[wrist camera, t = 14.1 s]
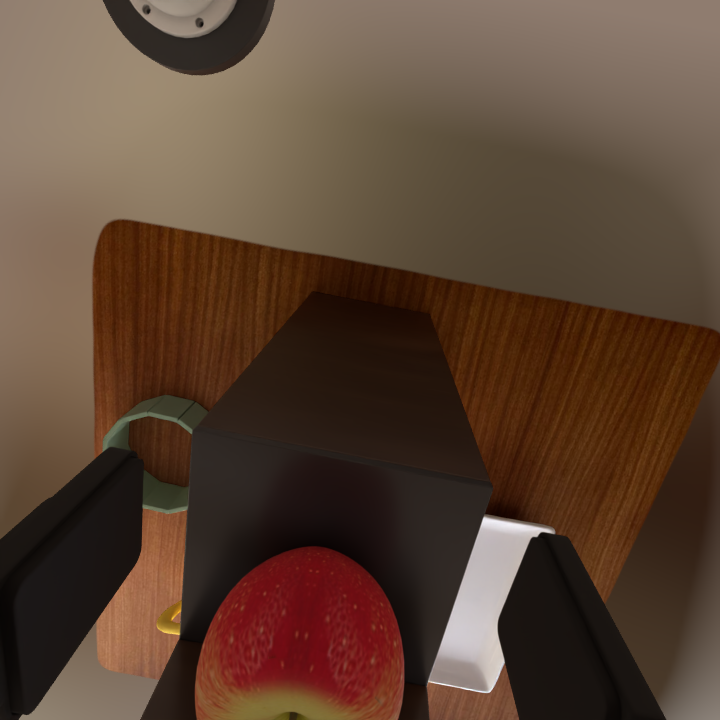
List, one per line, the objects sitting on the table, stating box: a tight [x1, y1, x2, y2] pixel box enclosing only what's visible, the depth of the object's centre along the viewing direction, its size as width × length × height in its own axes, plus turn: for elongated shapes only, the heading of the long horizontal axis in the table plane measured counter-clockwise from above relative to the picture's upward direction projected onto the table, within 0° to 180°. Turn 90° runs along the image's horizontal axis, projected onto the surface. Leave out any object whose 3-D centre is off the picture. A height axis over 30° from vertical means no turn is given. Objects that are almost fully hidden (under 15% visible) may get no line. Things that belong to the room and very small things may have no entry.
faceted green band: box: [103, 395, 208, 514], centre depth 58 cm, size 14×14×5 cm
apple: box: [195, 546, 404, 720], centre depth 18 cm, size 8×8×10 cm
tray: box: [428, 514, 555, 693], centre depth 64 cm, size 17×31×4 cm, turn 170°
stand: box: [140, 292, 493, 720], centre depth 34 cm, size 14×14×44 cm
